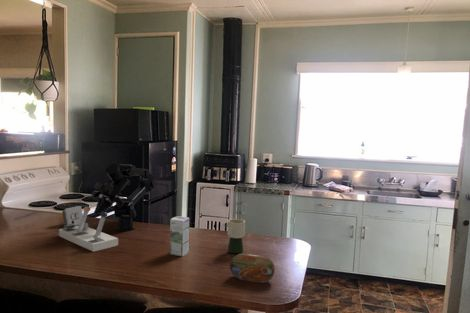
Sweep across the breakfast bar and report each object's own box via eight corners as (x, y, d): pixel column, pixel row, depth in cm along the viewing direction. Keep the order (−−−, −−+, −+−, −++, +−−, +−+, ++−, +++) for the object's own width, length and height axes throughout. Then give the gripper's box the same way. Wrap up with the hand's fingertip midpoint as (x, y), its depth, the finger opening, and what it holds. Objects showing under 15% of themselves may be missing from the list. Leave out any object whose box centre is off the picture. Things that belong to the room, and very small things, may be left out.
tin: (229, 277, 118) (229, 253, 117) (232, 274, 121) (233, 250, 120) (272, 285, 112) (273, 260, 112) (275, 281, 115) (276, 256, 115)
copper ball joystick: (80, 232, 153) (88, 206, 156) (83, 233, 151) (92, 207, 154) (74, 231, 151) (83, 205, 154) (77, 232, 149) (86, 206, 152)
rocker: (70, 226, 160) (70, 223, 160) (74, 227, 157) (74, 224, 157) (63, 227, 158) (63, 225, 158) (68, 228, 155) (67, 225, 155)
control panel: (82, 231, 166) (82, 224, 166) (118, 245, 147) (118, 237, 147) (59, 236, 158) (59, 229, 157) (93, 251, 139) (93, 243, 138)
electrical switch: (68, 227, 171) (67, 209, 171) (61, 227, 174) (60, 208, 174) (84, 223, 180) (83, 205, 179) (77, 223, 182) (76, 205, 182)
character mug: (233, 247, 149) (234, 217, 148) (248, 249, 146) (249, 219, 146) (221, 254, 139) (222, 222, 139) (238, 257, 136) (239, 225, 136)
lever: (96, 239, 144) (105, 211, 147) (100, 240, 143) (109, 212, 145) (91, 238, 142) (100, 210, 145) (94, 239, 141) (104, 211, 143)
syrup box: (189, 252, 141) (189, 217, 140) (182, 257, 136) (183, 220, 135) (176, 250, 143) (177, 215, 142) (169, 255, 137) (169, 218, 136)
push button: (85, 226, 161) (85, 222, 161) (89, 228, 158) (89, 224, 158) (78, 228, 158) (78, 224, 158) (82, 230, 156) (82, 225, 155)
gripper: (94, 173, 165) (71, 199, 157) (117, 177, 153) (94, 206, 145) (109, 188, 171) (88, 214, 164) (132, 193, 160) (111, 221, 152)
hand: (94, 213), depth 156 cm, fingers closed
